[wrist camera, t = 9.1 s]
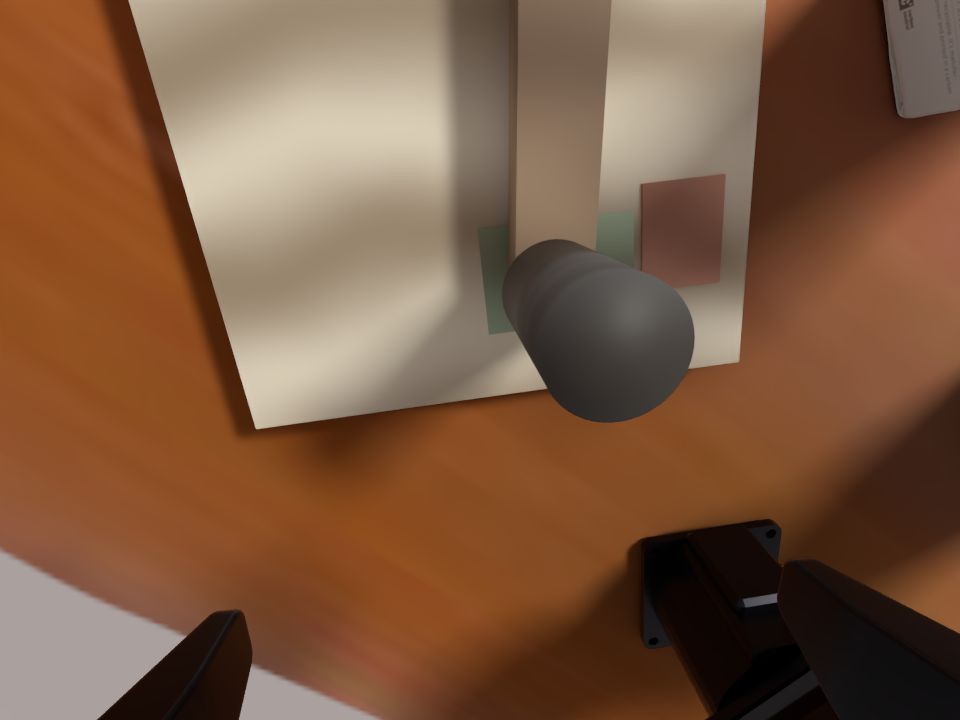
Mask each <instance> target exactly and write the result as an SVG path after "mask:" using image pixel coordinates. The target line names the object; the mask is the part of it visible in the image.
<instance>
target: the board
mask: <svg viewBox="0 0 960 720" xmlns="http://www.w3.org/2000/svg"><path fill="white" fill-rule="evenodd" d="M129 4H130V7H131V11H132V14H133V17H134V21H135V24H136V27H137V31H138V34H139V37H140V41H141V44H142V48H143V51H144V54H145V58H146V61H147V64H148V68H149V71H150V74H151V78H152V81H153V85H154V88H155V91H156V95H157V98H158V101H159V105H160V108H161V111H162V115H163V118H164V122H165V125H166V128H167V132H168V135H169V138H170V142H171V145H172V148H173V152H174V155H175V159H176V162H177V165H178V169H179V172H180V175H181V179H182V182H183V185H184V189H185V192H186V196H187V199H188V202H189V206H190V209H191V212H192V216H193V219H194V222H195V226H196V229H197V233H198V236H199V239H200V243H201V246H202V249H203V253H204V256H205V259H206V263H207V266H208V270H209V273H210V276H211V280H212V283H213V286H214V290H215V293H216V296H217V300H218V303H219V307H220V310H221V313H222V317H223V320H224V323H225V327H226V330H227V333H228V337H229V340H230V343H231V347H232V350H233V354H234V357H235V360H236V364H237V367H238V370H239V374H240V377H241V380H242V384H243V387H244V391H245V394H246V397H247V401H248V404H249V407H250V411H251V414H252V417H253V421H254V424H255V428H256V429H261V428H269V427H276V426H283V425H290V424H297V423H304V422H312V421H319V420H326V419H333V418H340V417H347V416H355V415H362V414H369V413H376V412H383V411H390V410H398V409H405V408H412V407H419V406H426V405H433V404H441V403H448V402H455V401H462V400H469V399H476V398H483V397H491V396H498V395H505V394H512V393H519V392H526V391H534V390H541V389H547V387H546V385H545V383H544V382H543V380H542V378H541V376H540V374H539V373H538V371H537V369H536V367H535V366H534V364H533V362H532V360H531V358H530V357H529V355H528V353H527V351H526V350H525V348H524V346H523V344H522V342H521V341H520V339H519V337H518V335H517V334H516V332H515V330H514V328H513V326H512V325H511V323H510V321H509V319H508V317H507V315H506V313H505V310H504V307H503V302H502V288H503V283H504V279H505V276H506V274H507V271H508V188H509V27H510V0H129ZM765 9H766V0H612V3H611V18H610V34H609V49H608V65H607V80H606V96H605V111H604V127H603V142H602V158H601V173H600V189H599V204H598V220H597V235H596V252H599V253H601V254H603V255H606V256H608V257H610V258H612V259H615V260H617V261H619V262H622V263H624V264H626V265H629V266H631V267H633V268H635V269H638V270H640V271H642V272H645V273H647V274H649V275H651V276H654V277H656V278H658V279H660V280H662V281H664V282H665V283H667V284H668V285H669V286H671V287H672V288H673V289H674V290H675V291H676V292H677V293H678V294H679V295H680V296H681V298H682V299H683V300H684V302H685V303H686V305H687V307H688V309H689V311H690V314H691V317H692V320H693V325H694V333H695V342H694V351H693V355H692V359H691V362H690V365H689V368H688V369H691V368H698V367H706V366H713V365H720V364H727V363H734V362H739V353H740V340H741V327H742V314H743V300H744V287H745V274H746V261H747V248H748V234H749V221H750V208H751V195H752V181H753V168H754V155H755V142H756V128H757V115H758V102H759V89H760V75H761V62H762V49H763V36H764V22H765Z"/></svg>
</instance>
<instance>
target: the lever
mask: <svg viewBox="0 0 960 720" xmlns="http://www.w3.org/2000/svg"><path fill="white" fill-rule="evenodd" d="M611 3H612V0H510V27H509V188H508V271H507V274H506V276H505V279H504V283H503V288H502V302H503V307H504V310H505V313H506V315H507V317H508V319H509V321H510V323H511V325H512V326H513V328H514V330H515V332H516V334H517V335H518V337H519V339H520V341H521V342H522V344H523V346H524V348H525V350H526V351H527V353H528V355H529V357H530V358H531V360H532V362H533V364H534V366H535V367H536V369H537V371H538V373H539V374H540V376H541V378H542V380H543V382H544V383H545V385H546V387H547V389H548V390H549V392H550V393H551V395H552V396H553V398H554V399H555V400H556V401H557V402H558V403H559V404H560V405H561V406H562V407H563V408H565V409H566V410H567V411H569V412H571V413H572V414H574V415H576V416H578V417H581V418H583V419H586V420H590V421H595V422H620V421H625V420H629V419H633V418H635V417H638V416H641V415H643V414H645V413H647V412H649V411H651V410H652V409H654V408H655V407H657V406H658V405H660V404H661V403H662V402H663V401H665V400H666V399H667V398H668V397H669V396H670V395H671V394H672V393H673V392H674V390H675V389H676V388H677V387H678V385H679V384H680V382H681V381H682V379H683V378H684V376H685V374H686V372H687V370H688V368H689V365H690V362H691V359H692V355H693V351H694V342H695V333H694V325H693V320H692V317H691V314H690V311H689V309H688V307H687V305H686V303H685V302H684V300H683V299H682V298H681V296H680V295H679V294H678V293H677V292H676V291H675V290H674V289H673V288H672V287H671V286H669V285H668V284H667V283H665V282H664V281H662V280H660V279H658V278H656V277H654V276H651V275H649V274H647V273H645V272H642V271H640V270H638V269H635V268H633V267H631V266H629V265H626V264H624V263H622V262H619V261H617V260H615V259H612V258H610V257H608V256H606V255H603V254H601V253H599V252H596V235H597V220H598V204H599V189H600V173H601V158H602V142H603V127H604V111H605V96H606V80H607V65H608V49H609V34H610V18H611Z"/></svg>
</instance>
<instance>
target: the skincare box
mask: <svg viewBox="0 0 960 720" xmlns="http://www.w3.org/2000/svg"><path fill="white" fill-rule="evenodd" d="M883 5H884V12H885V20H886V28H887V35H888V47H889V59H890V65H891V72H892V80H893V84H894V93H895V99H896V107H897V111H898V114H899V115H900V116H901V117H904V118H916V117H922V116H928V115H933V114H939V113H945V112H951V111H957V110H960V0H883Z"/></svg>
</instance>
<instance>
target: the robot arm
mask: <svg viewBox="0 0 960 720" xmlns="http://www.w3.org/2000/svg"><path fill="white" fill-rule="evenodd" d="M767 531H768V532H767ZM780 539H781V528H780V527H779V526H778V525H777V524H776V523H775V522H774V521H773V520H769V519H766V520H760V521H754V522H747V523H741V524H734V525H728V526H722V527H715V528H709V529H703V530H696V531H690V532H683V533H677V534H671V535H664V536H658V537H652V538H648V539H646V540H645V541H644V542H643V543H642V545H641V639H642V641H643V644H644V646H645V647H646V648H649V649H655V648H661V647H667V646H672V647H673V649H674V650H675V652H676V654H677V656H678V658H679V660H680V662H681V664H682V666H683V668H684V670H685V672H686V674H687V675H688V677H689V679H690V681H691V683H692V685H693V687H694V689H695V691H696V693H697V695H698V697H699V699H700V701H701V702H702V704H703V706H704V708H705V710H706V712H707V714H708V716H709V717H708V718H707V719H706V720H960V634H959V633H957V632H955V631H953V630H951V629H949V628H947V627H945V626H944V625H942V624H940V623H938V622H936V621H934V620H932V619H930V618H928V617H926V616H924V615H922V614H920V613H918V612H916V611H914V610H913V609H911V608H909V607H907V606H905V605H903V604H901V603H899V602H897V601H895V600H893V599H891V598H889V597H887V596H885V595H883V594H882V593H880V592H878V591H876V590H874V589H872V588H870V587H868V586H866V585H864V584H862V583H860V582H858V581H856V580H854V579H852V578H851V577H849V576H847V575H845V574H843V573H841V572H839V571H837V570H835V569H833V568H831V567H829V566H827V565H825V564H823V563H821V562H820V561H818V560H815V559H813V558H799V559H790V560H788V561H787V562H786V563H785V564H784V567H782V566H781V565H780V564H779V563H778V556H779V548H780ZM653 548H655V549H654V550H652V551H650V550H651V549H653ZM251 663H252V645H251V641H250V637H249V632H248V628H247V624H246V620H245V616H244V614H243V612H242V611H241V610H227V611H217V612H214V613H212V614H211V615H210V616H208V617H207V618H206V619H205V620H204V621H203V622H202V623H201V624H200V625H199V626H198V627H196V628H195V629H194V630H193V631H192V632H191V633H190V634H189V635H188V636H187V637H186V638H185V639H184V640H182V641H181V642H180V643H179V644H178V645H177V646H176V647H175V648H174V649H173V650H172V651H171V652H170V653H168V655H166V656H165V657H164V658H163V659H162V660H161V661H160V662H159V663H158V664H157V665H156V666H154V667H153V668H152V669H151V670H150V671H149V672H148V673H147V674H146V675H145V676H144V677H143V678H142V679H140V680H139V681H138V682H137V683H136V684H135V685H134V686H133V687H132V688H131V689H130V690H129V691H128V692H127V693H126V694H124V695H123V696H122V697H121V698H120V699H119V700H118V701H117V702H116V703H115V704H114V705H113V706H111V707H110V708H109V709H108V710H107V711H106V712H105V713H104V714H103V715H102V716H101V717H100V718H98V719H97V720H239V716H240V712H241V707H242V703H243V699H244V694H245V690H246V686H247V681H248V677H249V672H250V668H251Z"/></svg>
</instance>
